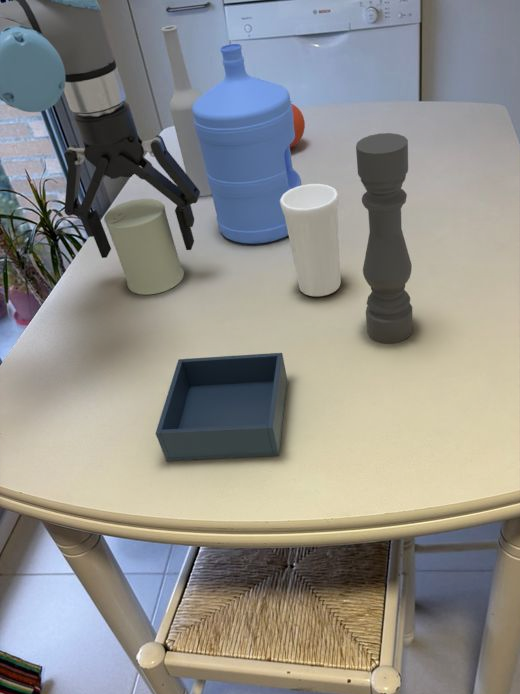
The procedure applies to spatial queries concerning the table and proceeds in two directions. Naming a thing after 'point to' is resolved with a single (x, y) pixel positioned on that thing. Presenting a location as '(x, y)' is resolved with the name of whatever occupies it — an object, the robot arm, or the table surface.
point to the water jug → (247, 151)
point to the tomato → (297, 125)
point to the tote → (224, 408)
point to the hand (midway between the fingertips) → (148, 249)
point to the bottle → (185, 113)
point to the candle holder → (385, 236)
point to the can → (145, 246)
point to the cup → (314, 236)
